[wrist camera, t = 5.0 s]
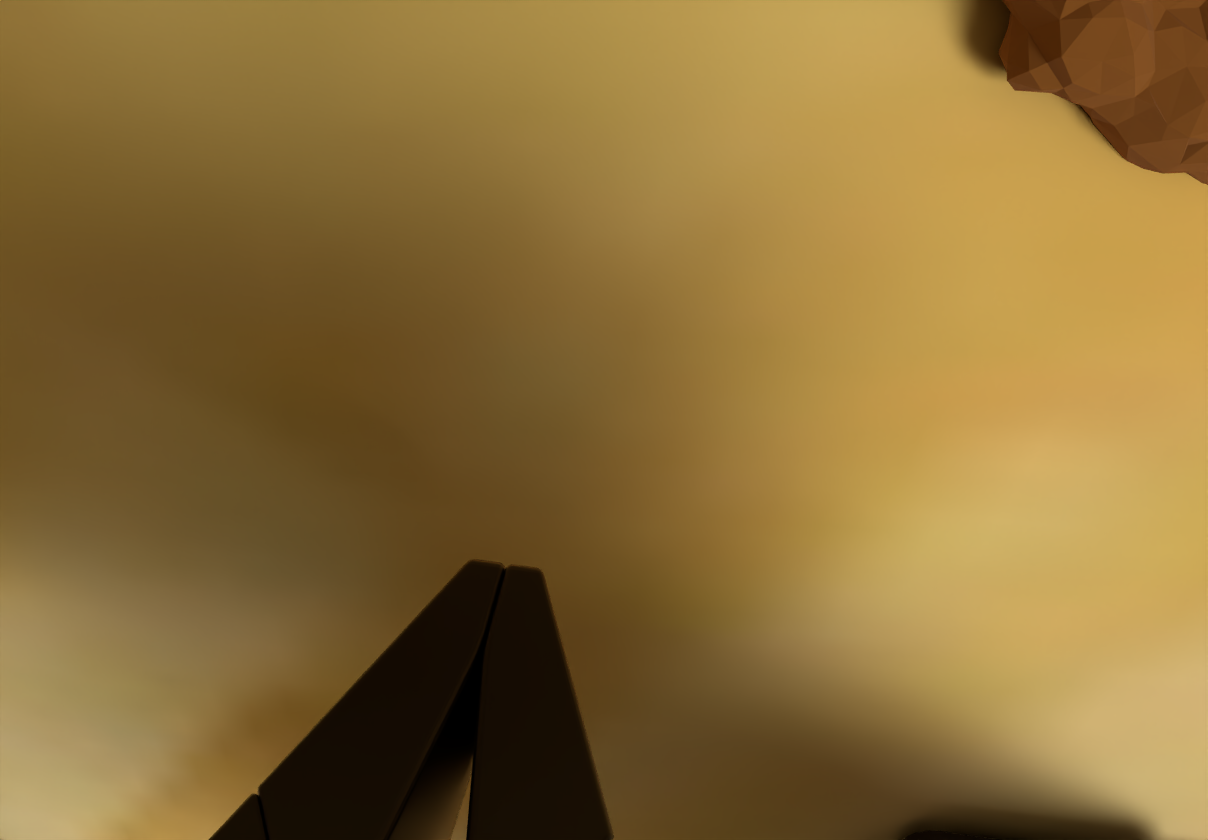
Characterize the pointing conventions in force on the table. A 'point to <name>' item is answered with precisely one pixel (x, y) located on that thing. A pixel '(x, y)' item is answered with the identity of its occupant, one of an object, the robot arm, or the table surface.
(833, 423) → the table surface
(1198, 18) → the primitive tool
